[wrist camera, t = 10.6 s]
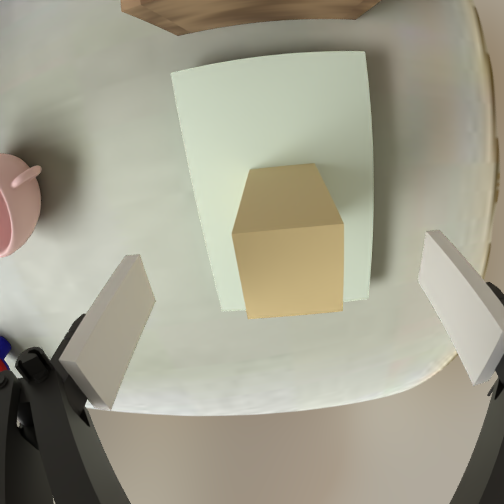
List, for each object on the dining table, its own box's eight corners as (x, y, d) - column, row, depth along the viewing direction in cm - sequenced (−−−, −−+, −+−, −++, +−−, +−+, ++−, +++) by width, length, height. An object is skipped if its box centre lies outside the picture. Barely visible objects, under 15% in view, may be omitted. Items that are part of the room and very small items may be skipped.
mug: (19, 245, 29) (-12, 272, 24) (-19, 173, 24) (-54, 193, 19) (81, 203, 26) (45, 231, 21) (37, 114, 21) (-7, 127, 16)
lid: (225, 294, 30) (202, 405, 19) (180, 74, 20) (93, 69, 9) (362, 282, 28) (397, 391, 17) (355, 54, 19) (434, 30, 8)
